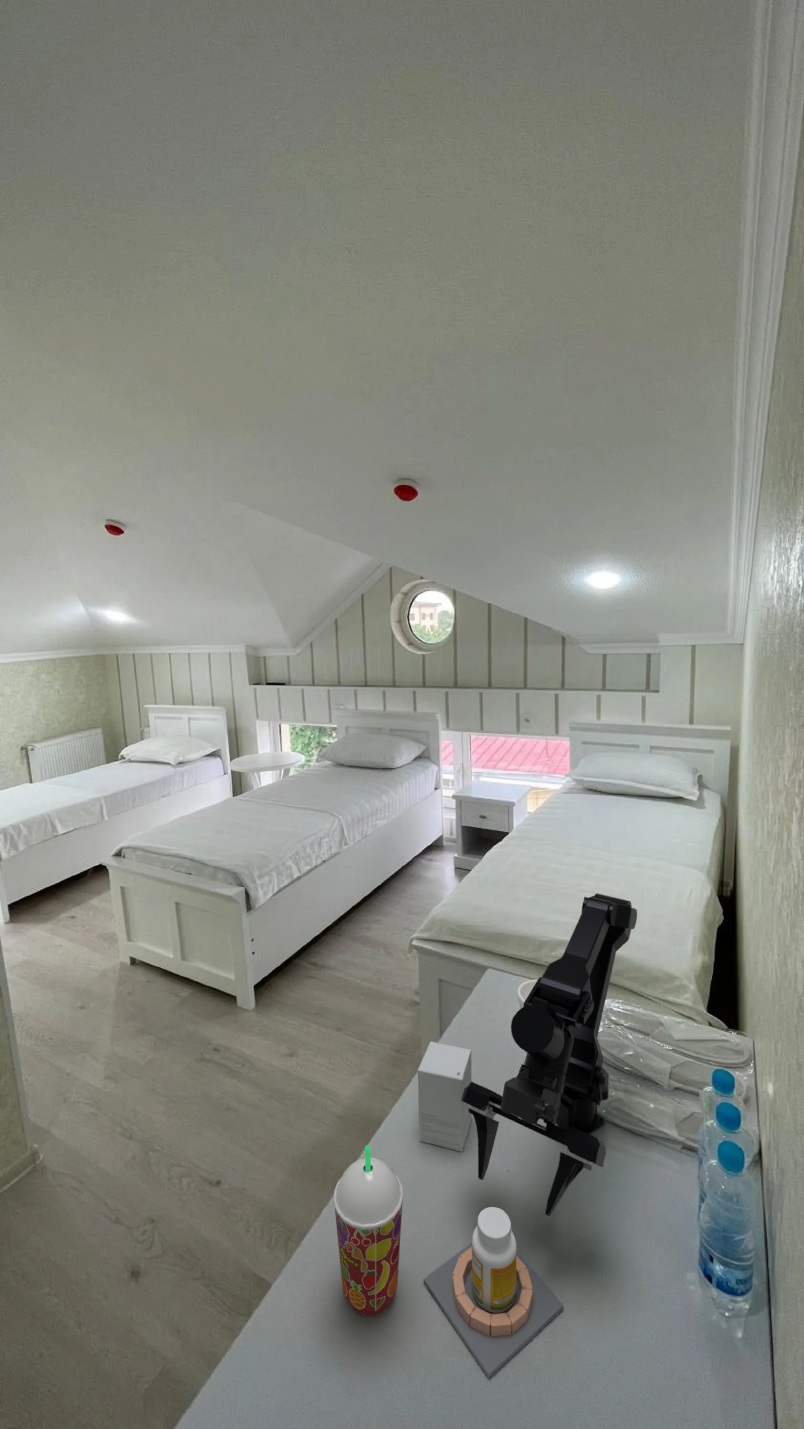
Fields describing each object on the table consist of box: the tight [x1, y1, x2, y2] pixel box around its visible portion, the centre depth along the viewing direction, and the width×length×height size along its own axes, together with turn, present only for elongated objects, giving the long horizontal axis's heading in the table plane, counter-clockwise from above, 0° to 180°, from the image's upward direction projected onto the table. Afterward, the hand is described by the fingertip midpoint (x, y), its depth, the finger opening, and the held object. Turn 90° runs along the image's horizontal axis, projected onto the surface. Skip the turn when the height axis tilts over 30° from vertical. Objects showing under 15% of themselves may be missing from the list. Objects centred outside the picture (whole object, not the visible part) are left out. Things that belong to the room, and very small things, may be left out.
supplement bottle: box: [471, 1206, 518, 1313], centre depth 74 cm, size 5×5×10 cm
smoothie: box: [333, 1144, 404, 1317], centre depth 74 cm, size 8×8×20 cm
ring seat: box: [423, 1242, 564, 1379], centre depth 75 cm, size 12×12×2 cm
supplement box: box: [417, 1041, 473, 1152], centre depth 99 cm, size 7×7×13 cm
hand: (512, 1196), depth 79 cm, fingers open, 9 cm apart
